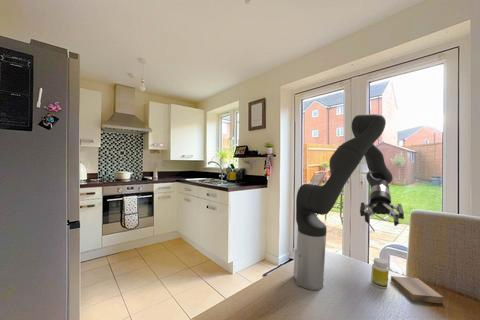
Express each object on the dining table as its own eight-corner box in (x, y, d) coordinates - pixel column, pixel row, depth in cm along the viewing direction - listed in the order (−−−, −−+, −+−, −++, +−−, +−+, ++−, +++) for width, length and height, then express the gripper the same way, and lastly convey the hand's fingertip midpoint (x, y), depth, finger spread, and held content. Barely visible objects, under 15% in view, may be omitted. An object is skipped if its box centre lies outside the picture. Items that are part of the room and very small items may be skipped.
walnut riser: (412, 300, 65) (412, 294, 65) (390, 281, 75) (391, 276, 75) (442, 303, 65) (443, 297, 65) (417, 283, 75) (417, 278, 75)
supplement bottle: (390, 290, 70) (391, 265, 70) (374, 287, 71) (376, 262, 71) (383, 281, 75) (385, 258, 75) (368, 279, 76) (370, 256, 76)
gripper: (360, 189, 94) (358, 213, 81) (400, 190, 86) (405, 216, 74) (361, 203, 96) (360, 228, 84) (401, 205, 88) (405, 233, 76)
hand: (381, 222), depth 79 cm, fingers open, 8 cm apart
